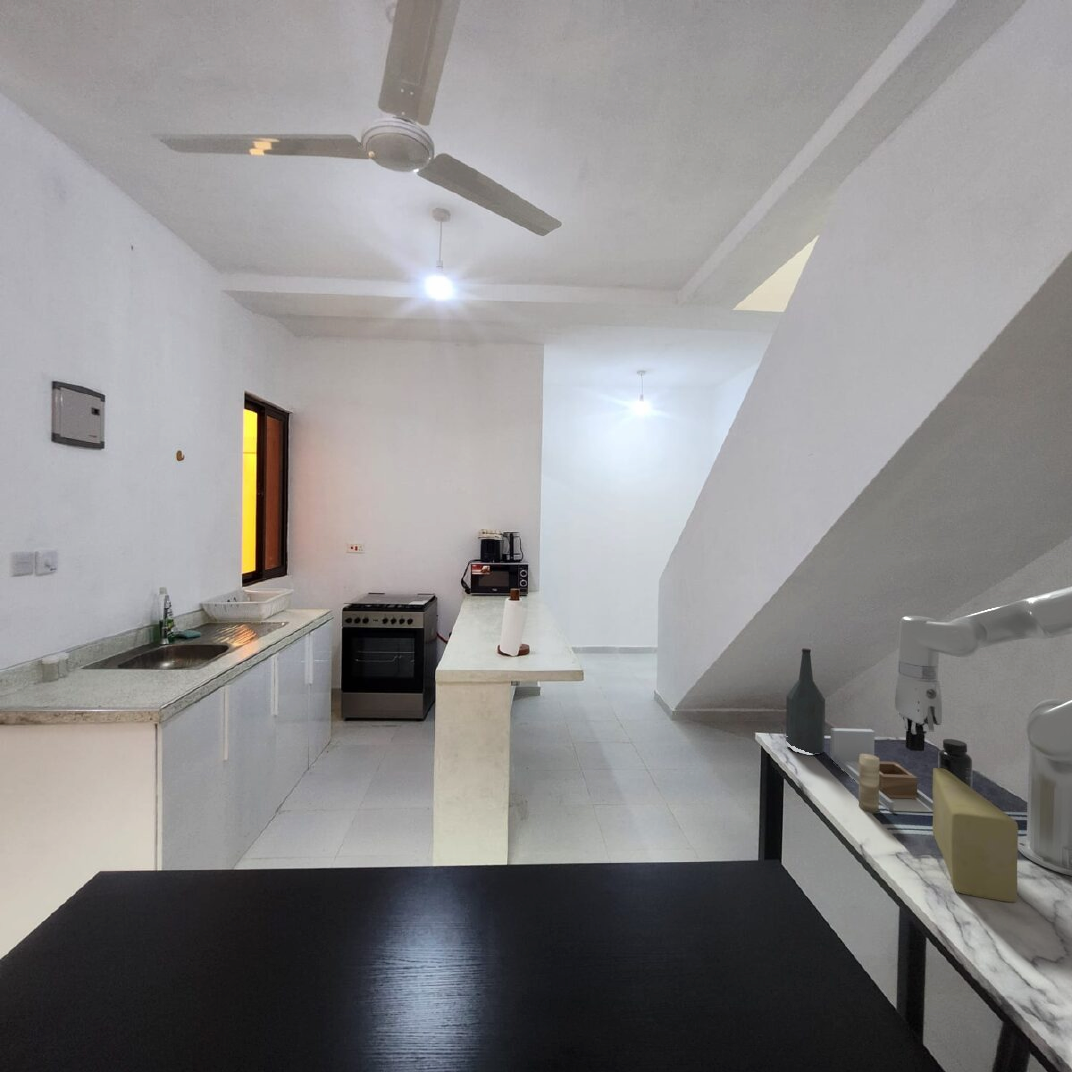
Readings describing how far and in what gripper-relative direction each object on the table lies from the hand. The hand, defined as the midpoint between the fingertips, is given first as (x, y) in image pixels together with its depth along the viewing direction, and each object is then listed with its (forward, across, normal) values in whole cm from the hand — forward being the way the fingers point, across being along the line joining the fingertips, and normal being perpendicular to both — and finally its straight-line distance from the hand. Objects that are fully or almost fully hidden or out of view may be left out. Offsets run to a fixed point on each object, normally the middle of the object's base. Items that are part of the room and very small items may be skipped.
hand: (914, 749), depth 125 cm
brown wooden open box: (+14, +10, 0) cm, 17 cm away
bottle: (+16, +36, +9) cm, 40 cm away
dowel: (+15, +2, +9) cm, 18 cm away
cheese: (+15, -19, +3) cm, 24 cm away
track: (+15, +14, 0) cm, 21 cm away
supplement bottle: (+15, +12, -18) cm, 27 cm away
